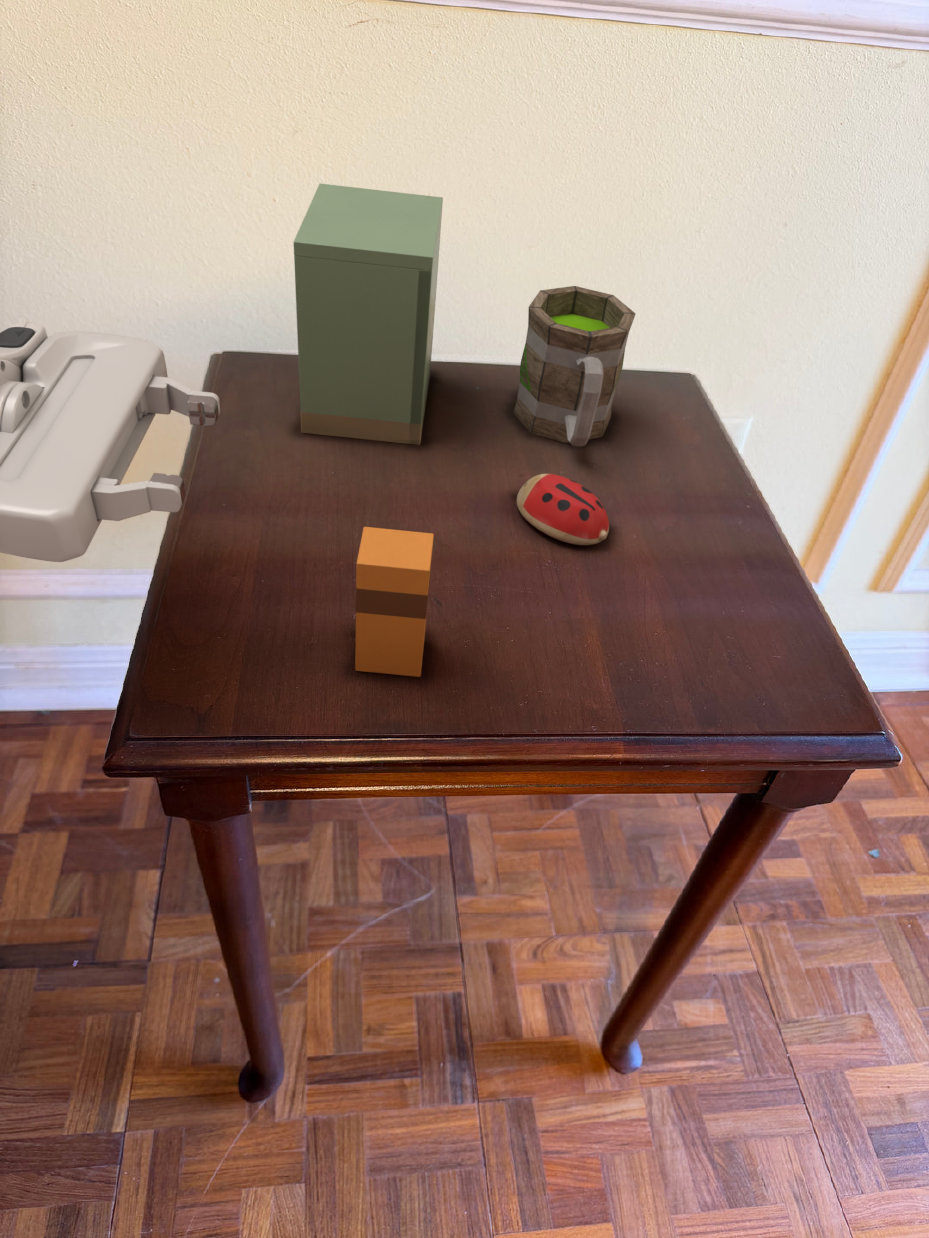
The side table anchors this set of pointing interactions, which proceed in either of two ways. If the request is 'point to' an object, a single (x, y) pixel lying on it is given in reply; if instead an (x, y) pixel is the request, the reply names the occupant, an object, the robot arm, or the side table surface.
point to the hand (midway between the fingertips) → (200, 450)
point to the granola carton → (392, 600)
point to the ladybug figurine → (563, 509)
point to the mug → (571, 363)
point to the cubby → (366, 311)
